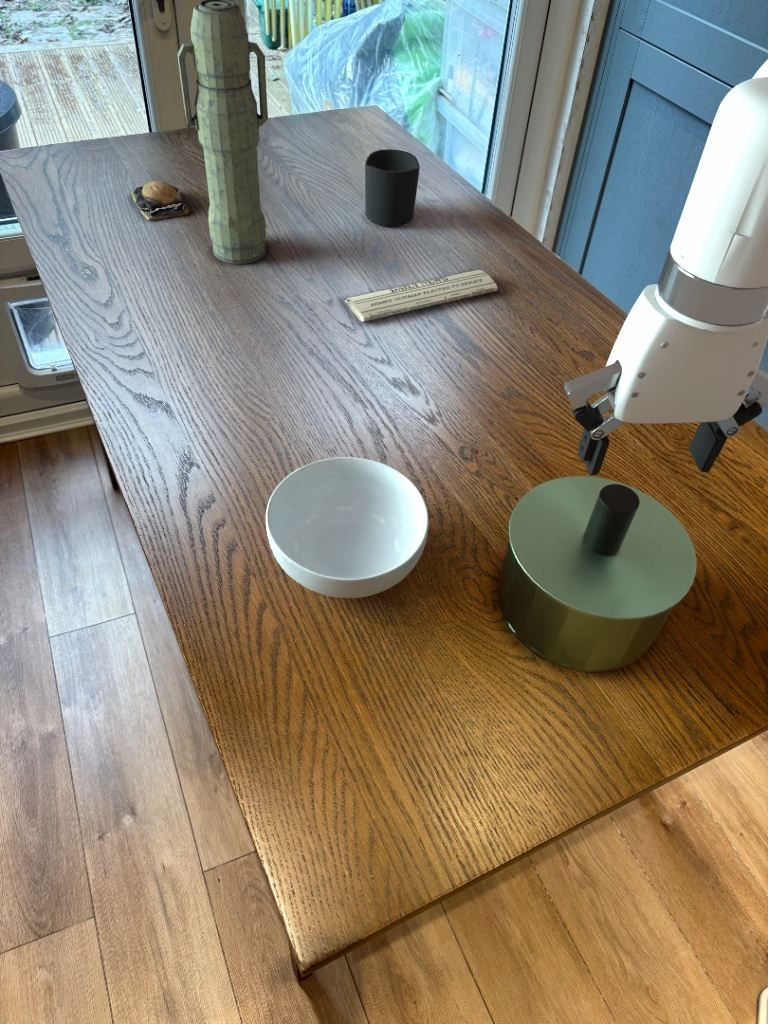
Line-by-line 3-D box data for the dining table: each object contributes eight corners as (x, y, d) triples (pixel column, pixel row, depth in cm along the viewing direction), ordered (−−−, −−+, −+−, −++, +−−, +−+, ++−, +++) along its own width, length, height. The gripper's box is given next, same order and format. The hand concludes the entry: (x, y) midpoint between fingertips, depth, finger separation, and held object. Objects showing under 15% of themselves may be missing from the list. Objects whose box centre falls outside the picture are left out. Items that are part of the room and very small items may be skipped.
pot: (629, 540, 86) (656, 481, 79) (679, 669, 74) (716, 613, 67) (485, 543, 84) (499, 483, 77) (513, 675, 73) (533, 619, 66)
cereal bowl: (245, 529, 83) (239, 485, 78) (375, 482, 90) (378, 438, 84) (311, 645, 74) (310, 603, 69) (452, 584, 80) (461, 540, 75)
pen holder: (425, 217, 136) (431, 161, 129) (391, 234, 131) (395, 177, 124) (386, 200, 140) (390, 144, 133) (352, 215, 135) (354, 159, 128)
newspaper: (363, 325, 112) (363, 314, 111) (343, 300, 116) (344, 290, 115) (496, 294, 120) (498, 283, 119) (473, 272, 124) (475, 262, 123)
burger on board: (129, 196, 136) (124, 176, 133) (175, 189, 139) (171, 169, 136) (144, 222, 129) (140, 201, 127) (192, 214, 132) (189, 193, 130)
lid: (657, 481, 79) (680, 431, 74) (721, 622, 67) (754, 573, 62) (492, 484, 78) (504, 432, 72) (527, 628, 66) (544, 579, 61)
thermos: (281, 259, 123) (269, 11, 98) (209, 268, 120) (177, 14, 95) (268, 234, 129) (253, -7, 103) (199, 242, 126) (166, -5, 100)
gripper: (811, 255, 55) (723, 431, 68) (580, 256, 54) (536, 435, 66) (862, 313, 50) (757, 491, 63) (609, 316, 49) (555, 497, 61)
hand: (643, 462), depth 64 cm, fingers open, 9 cm apart
